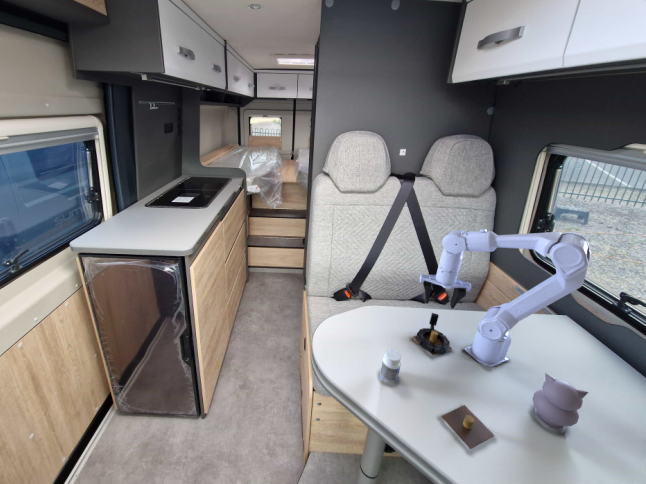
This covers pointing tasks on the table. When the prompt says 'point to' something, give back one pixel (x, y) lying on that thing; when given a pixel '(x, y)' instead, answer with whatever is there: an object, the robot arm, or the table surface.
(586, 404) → the table surface
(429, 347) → the hanger ring
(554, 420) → the cat figurine
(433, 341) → the tall peg stand
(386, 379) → the pill bottle
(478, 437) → the short peg stand
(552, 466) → the table surface
